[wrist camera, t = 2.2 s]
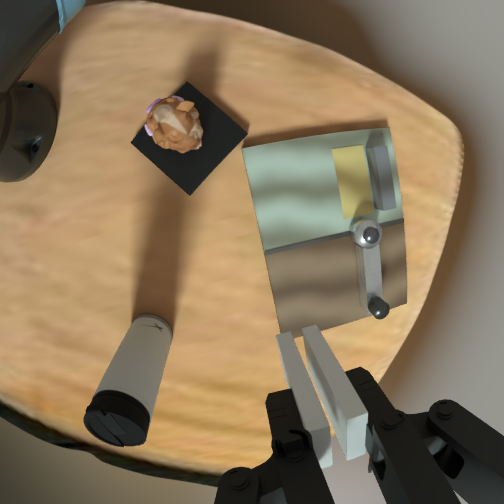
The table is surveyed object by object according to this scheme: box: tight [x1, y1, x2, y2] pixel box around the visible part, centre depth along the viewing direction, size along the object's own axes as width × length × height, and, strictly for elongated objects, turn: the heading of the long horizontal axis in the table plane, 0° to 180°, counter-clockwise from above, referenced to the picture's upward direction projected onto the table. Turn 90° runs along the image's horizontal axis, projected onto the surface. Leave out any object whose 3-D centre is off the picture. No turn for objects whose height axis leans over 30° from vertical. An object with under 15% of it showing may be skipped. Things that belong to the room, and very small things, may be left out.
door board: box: [242, 127, 407, 338], centre depth 37 cm, size 26×20×4 cm
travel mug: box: [84, 314, 173, 447], centre depth 30 cm, size 6×7×20 cm
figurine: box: [131, 82, 248, 196], centre depth 29 cm, size 10×10×12 cm
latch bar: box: [349, 217, 390, 319], centre depth 36 cm, size 13×4×4 cm, turn 12°
